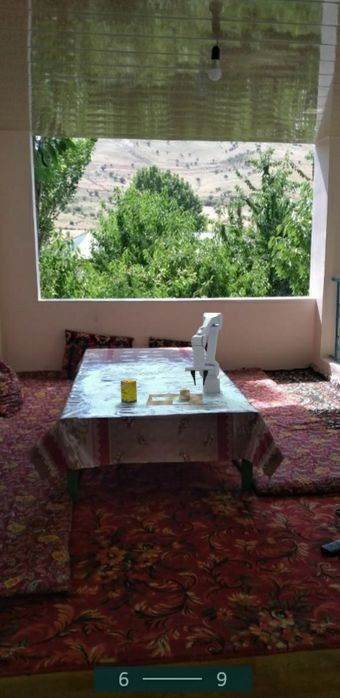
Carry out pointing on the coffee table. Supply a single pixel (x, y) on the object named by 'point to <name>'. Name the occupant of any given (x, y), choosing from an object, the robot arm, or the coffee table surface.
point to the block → (184, 393)
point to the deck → (194, 399)
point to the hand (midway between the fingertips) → (199, 385)
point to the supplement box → (128, 391)
